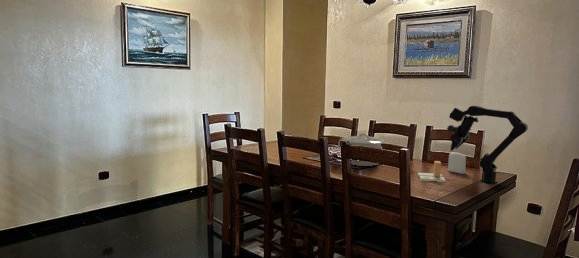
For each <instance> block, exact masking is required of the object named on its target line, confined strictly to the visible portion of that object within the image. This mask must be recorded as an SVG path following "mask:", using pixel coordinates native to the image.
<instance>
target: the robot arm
mask: <svg viewBox="0 0 579 258" xmlns="http://www.w3.org/2000/svg"><path fill="white" fill-rule="evenodd" d="M482 116H483V117H484V116H486V117H494V118H502V119H507V120H508V121H509V123H510V125H511V126H512V127H513V128H512V129H511V131H510V132H509V134H508V135H507V136H506V137H505V139H503V141H502V142H500V143H499V144H498V145H497V147H496V148H495V149H494V150H493V151H492V152H491V153H490V154H489V153H488V152H487V153H484V155H483V156H482V157H481V158H480V159H479V160H480V161H479V166H480V168H481V169H482V173H481V179H480V180H479V181H480V182H482V183H486V184H498V181H496V176H497V168H498V167H497V166H496V164H495V162H496V160H497V159H498V157H499V156H500V155H501V154H502V153H503V152H504V151H505V150H506V149H507V148H508V147H509V146H510V145H511V144H512V143H513V142H514V141H515V140H516V139H517V138H519V137H521V136H522V135H524V134H525V133H526V132H527V131H528V129H529V126H528V124H527V123H526V122H523V121H522V120H521V119H520V118H519V117H518V116H517V114H516V113H515V112H514V111H511V110H510V111H507V110H499V109H492V108H491V109H490V108H487V107H486V108H485V107H483V106H479V105H470V106H469V107H468V108H467V110H460V109H459V108H457V107H454V108H453V110H452V111H450V113H449V119H451V120H453V121H455V122H458V123H459V122H461V123H460V125H459V124H458V126H455V125H453V124H450V125H448V126H447V128H446V130H447V132H449V133H450V132H452V133H453V134H450V137H449V139H450V141H451V145H450V151H453V150H455V149H458V148H460V147H461V146H462V145H463V144H464V143H466V142H467V141H468V140H469V139H470V137H471V136H470V134H469V132H470V131H471V130H472V129H471V128H472V127H473V125H474V123H478V122H479V119H478V117H482Z"/></svg>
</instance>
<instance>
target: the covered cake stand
mask: <svg viewBox="0 0 579 258" xmlns="http://www.w3.org/2000/svg"><path fill="white" fill-rule="evenodd" d="M342 140H347V141H349V143H350V144H352V145H359V146H367V147H374V148H381V149H382V150H383V147H382V144H384V143H385V142H386V140H385V139H382V138H380V137H377V136H376V137H375V136H369V135H368V134H367V133H361V134H359V135H352V136H346V137H341V138H340V139H339V140H338V148H339V149H340V141H342ZM342 142H343V141H342ZM351 163H352V164H351V165H352V166H354V165H357V166H356V167H358V166H371V167H374V166H376V165H377V164H375V163H371V162H365V161H357V160H352V161H351ZM373 165H374V166H373Z"/></svg>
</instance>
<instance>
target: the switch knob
mask: <svg viewBox="0 0 579 258" xmlns="http://www.w3.org/2000/svg"><path fill="white" fill-rule="evenodd" d="M441 170H442V162H441V161H439V160H434V162H433V172H432V173H433V175H434V176H435V177H440V174H441Z"/></svg>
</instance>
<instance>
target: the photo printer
mask: <svg viewBox="0 0 579 258" xmlns="http://www.w3.org/2000/svg"><path fill="white" fill-rule="evenodd" d="M466 161H467V156H466V154H464V153H462V152H458V151H457V152H456V151H454V152H449V155H448V163H447V164H448V165H447V166H448V167H447V171H448V172H451V173H457V174H461V175H464V174H465V173H466V163H467V162H466Z"/></svg>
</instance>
